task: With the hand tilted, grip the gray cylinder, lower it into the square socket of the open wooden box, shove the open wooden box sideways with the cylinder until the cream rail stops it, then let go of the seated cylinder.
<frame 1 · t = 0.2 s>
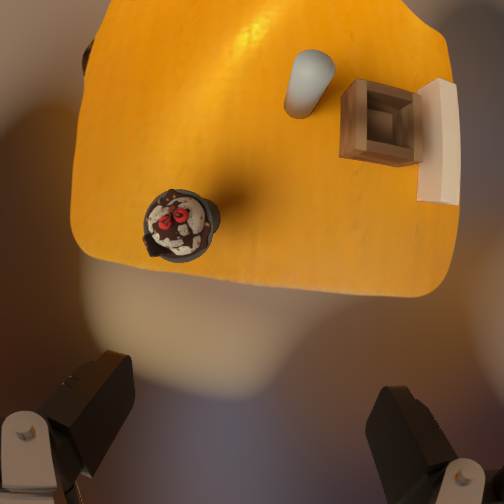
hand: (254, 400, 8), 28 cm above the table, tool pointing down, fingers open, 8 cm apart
open wooden box: (380, 125, 30), point 3 cm above the table, slide at 0.0 cm
gray cylinder: (298, 105, 33), on the table
rail: (427, 145, 33), on the table
sundae: (200, 218, 36), on the table
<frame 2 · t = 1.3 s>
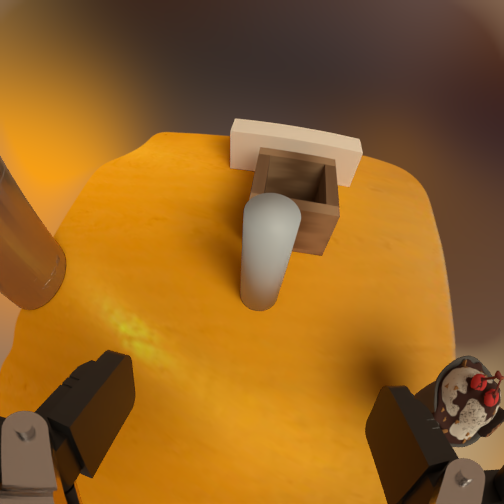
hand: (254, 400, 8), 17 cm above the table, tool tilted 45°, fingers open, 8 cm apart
open wooden box: (291, 200, 31), point 3 cm above the table, slide at 0.0 cm
gray cylinder: (258, 293, 28), on the table
rail: (291, 169, 38), on the table
sundae: (397, 414, 22), on the table
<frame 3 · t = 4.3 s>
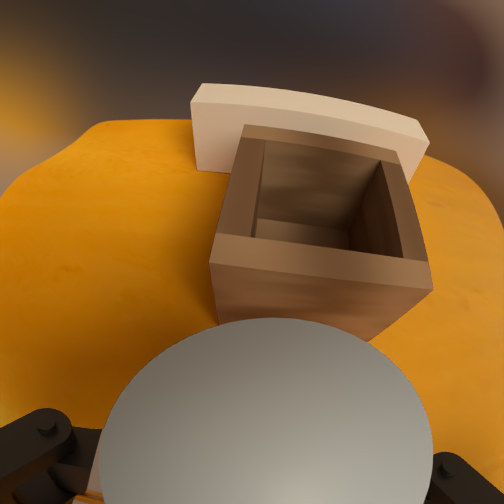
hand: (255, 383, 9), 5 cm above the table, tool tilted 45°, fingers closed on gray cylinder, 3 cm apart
open wooden box: (312, 236, 14), point 3 cm above the table, slide at 0.0 cm
gray cylinder: (244, 432, 12), on the table, touching gripper
rail: (302, 169, 22), on the table
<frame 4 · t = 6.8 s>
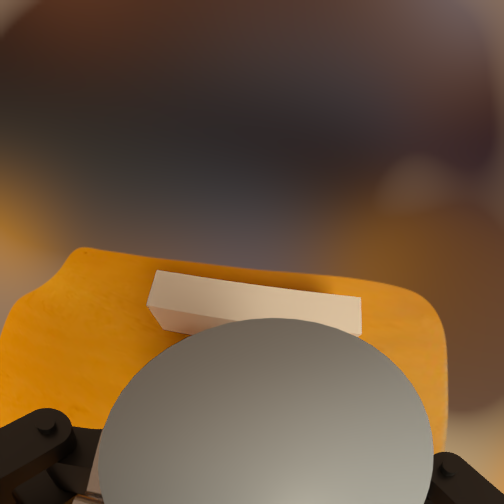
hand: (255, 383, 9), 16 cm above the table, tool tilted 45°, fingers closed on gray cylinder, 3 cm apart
gray cylinder: (244, 433, 12), point 11 cm above the table, touching gripper
rail: (252, 328, 26), on the table
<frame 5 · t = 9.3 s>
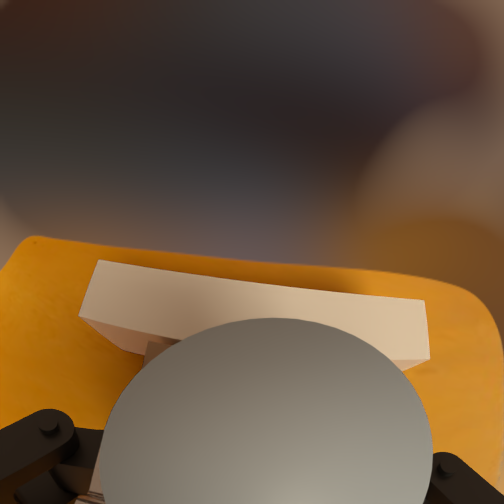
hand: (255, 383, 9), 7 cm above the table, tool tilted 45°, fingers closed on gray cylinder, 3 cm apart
open wooden box: (240, 455, 11), point 3 cm above the table, slide at 2.9 cm, touching gray cylinder
gray cylinder: (244, 432, 12), point 2 cm above the table, touching open wooden box, gripper
rail: (252, 350, 17), on the table
when the fingers open (7 cm above the table, at t = 9.5 s): gray cylinder drops 2 cm, resting on open wooden box.
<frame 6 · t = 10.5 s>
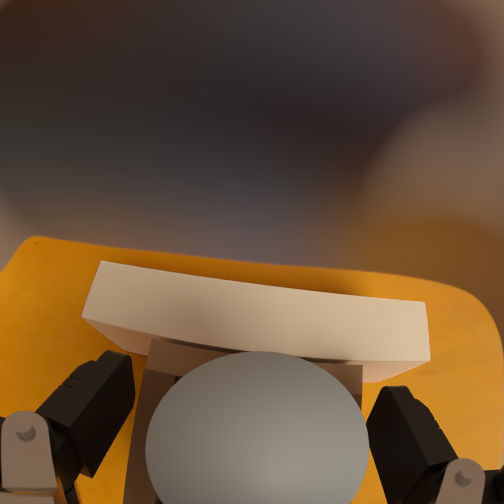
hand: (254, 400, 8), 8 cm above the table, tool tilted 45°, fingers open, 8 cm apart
open wooden box: (242, 453, 11), point 3 cm above the table, slide at 3.0 cm, touching gray cylinder
gray cylinder: (243, 430, 14), point 1 cm above the table, touching open wooden box
rail: (254, 351, 17), on the table
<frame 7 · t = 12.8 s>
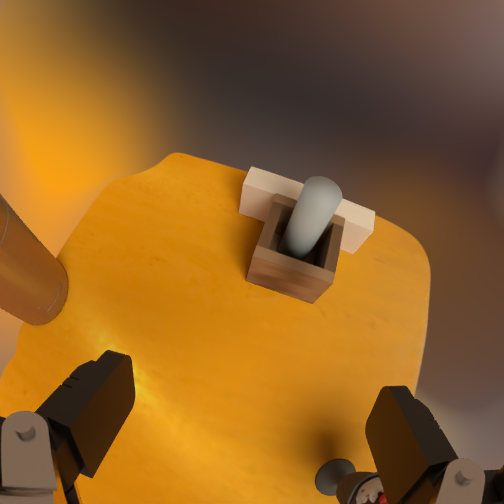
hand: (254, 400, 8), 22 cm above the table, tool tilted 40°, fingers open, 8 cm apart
open wooden box: (295, 250, 33), point 3 cm above the table, slide at 3.0 cm, touching gray cylinder
gray cylinder: (291, 253, 36), point 1 cm above the table, touching open wooden box
rail: (299, 224, 38), on the table
sundae: (334, 477, 24), on the table
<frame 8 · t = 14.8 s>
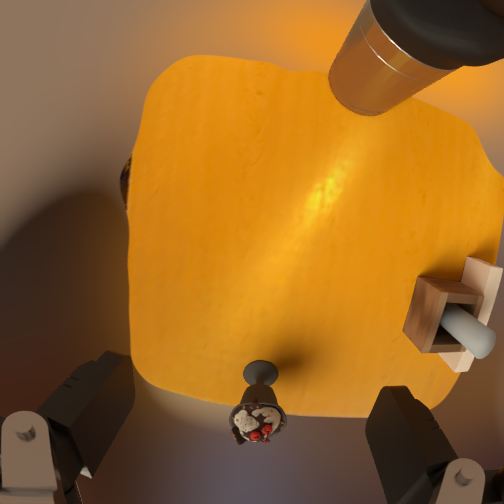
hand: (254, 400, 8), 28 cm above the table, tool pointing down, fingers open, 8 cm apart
open wooden box: (443, 314, 33), point 3 cm above the table, slide at 3.0 cm, touching gray cylinder
gray cylinder: (439, 307, 36), point 1 cm above the table, touching open wooden box
rail: (460, 307, 36), on the table
sundae: (260, 373, 40), on the table
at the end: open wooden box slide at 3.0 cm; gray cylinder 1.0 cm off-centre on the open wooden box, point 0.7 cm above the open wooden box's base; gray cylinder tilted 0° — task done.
